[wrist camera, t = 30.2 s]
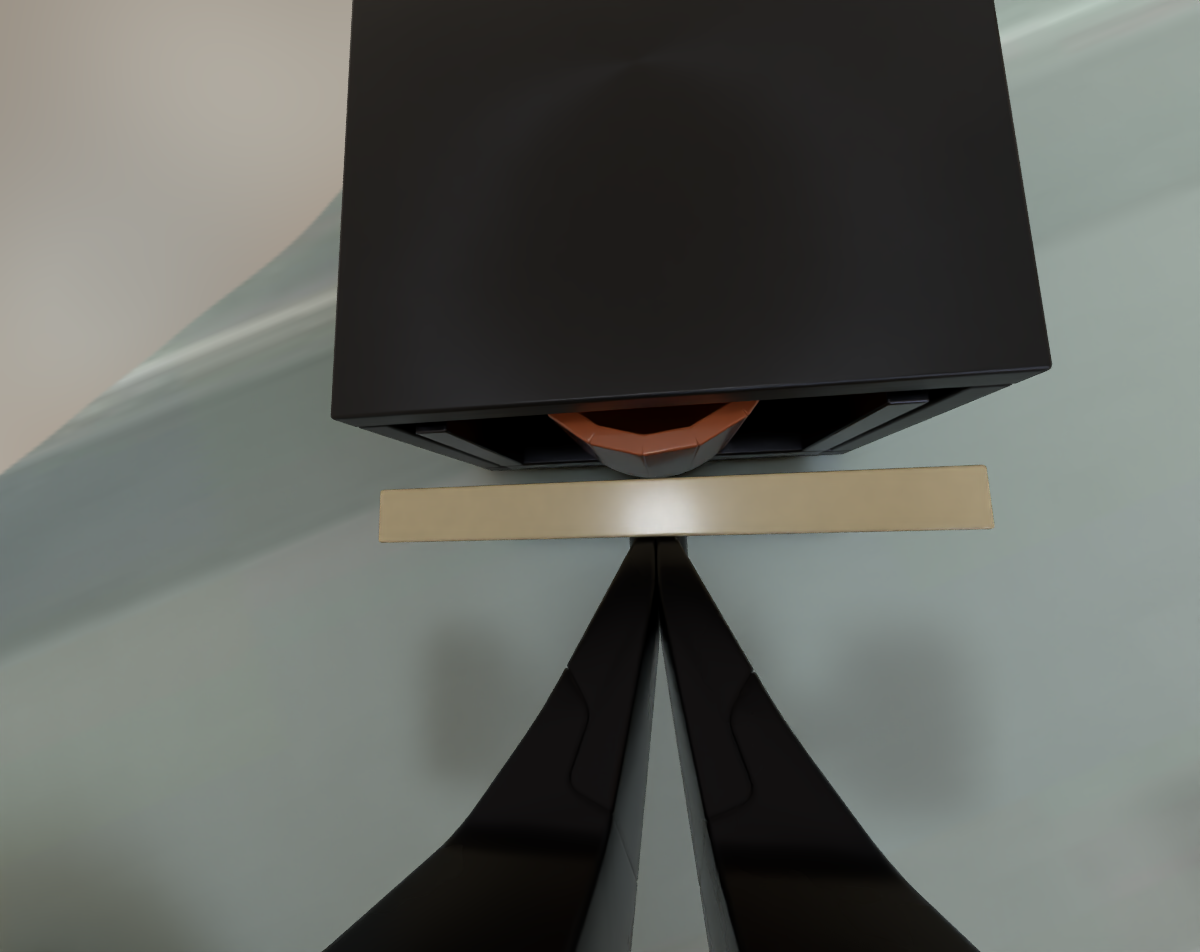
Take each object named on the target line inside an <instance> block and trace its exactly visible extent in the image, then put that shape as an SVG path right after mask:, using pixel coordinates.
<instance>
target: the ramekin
mask: <svg viewBox="0 0 1200 952" xmlns="http://www.w3.org/2000/svg"><path fill="white" fill-rule="evenodd" d="M759 401H760V400H756V401H741V402H725V403H710V404H695V405H680V406H665V407H650V408H634V409H619V410H604V411H589V412H574V413H559V414H547V415H548V416H549V417H550V418H551V419H552V420H553V421H554V422H555V423H556V424H557V425H558V426H559V427H560V428H561V429H562V430H564V431H565V432H566V433H567V434H568V435H569V436H570V437H571V438H572V439H573V440H574V441H575V442H576V443H577V444H578V445H579V446H580V447H581V448H582V449H584V450H585V451H587V452H588V453H589V454H591V455H592V456H593V457H595V458H596V459H597V460H598V461H600V462H601V463H603V464H605V465H606V466H608V467H609V468H612V469H613V470H616V471H619V472H621V473H625V474H628V475H631V476H637V477H644V478H660V477H669V476H673V475H677V474H681V473H684V472H687V471H689V470H692V469H694V468H696V467H698V466H700V465H702V464H704V463H705V462H707V461H708V460H709V459H711V458H712V457H714V456H715V455H716V454H717V453H719V452H720V451H722V449H724V448H725V446H726V445H727V444H728V442H729V441H730V440H731V438H732V437H733V436H734V434H735V433H736V432H737V431H738V429H739V428H740V427H741V425H742V424H743V423H744V421H745V420H746V419H747V417H748V416H749V415H750V413H751V412H752V411H753V409H754V408H755V406H756V405H757V404H758V402H759Z"/></svg>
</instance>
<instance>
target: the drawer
mask: <svg viewBox="0 0 1200 952" xmlns="http://www.w3.org/2000/svg"><path fill="white" fill-rule="evenodd" d="M927 402H929V391H928V389H923V390H907V391H892V392H877V393H862V394H847V395H832V396H816V397H801V398H786V399H771V400H760V401H759V402H758V404H757V405H756V406H755V408H754V409H753V411H752V412H751V413H750V415H749V416H748V417H747V419H746V420H745V421H744V423H743V424H742V425H741V427H740V428H739V429H738V431H737V432H736V433H735V434H734V436H733V437H732V438H731V440H730V441H729V442H728V444H727V445H726V446H725V448H724V449H722V451H720V452H719V453H717V454H716V455H715V456H714V457H712V458H711V459H731V458H752V457H773V456H794V455H815V454H819V453H821V452H823V451H825V450H828V449H830V448H832V447H834V446H836V445H838V444H841V443H843V442H845V441H847V440H849V439H851V438H853V437H855V436H858V435H860V434H862V433H864V432H866V431H868V430H870V429H872V428H874V427H877V426H879V425H881V424H883V423H885V422H887V421H889V420H891V419H894V418H896V417H898V416H900V415H902V414H904V413H906V412H908V411H910V410H913V409H915V408H917V407H919V406H921V405H923V404H925V403H927ZM415 432H416V434H418V435H421V436H424V437H426V438H429V439H432V440H434V441H437V442H440V443H442V444H445V445H448V446H450V447H453V448H456V449H458V450H461V451H464V452H467V453H469V454H472V455H475V456H477V457H480V458H483V459H485V460H488V461H491V462H493V463H496V464H499V465H501V466H505V467H508V468H511V469H520V468H541V467H562V466H583V465H604V464H603V463H601V462H600V461H598V460H597V459H596V458H595V457H593V456H592V455H591V454H589V453H588V452H587V451H585V450H584V449H582V448H581V447H580V446H579V445H578V444H577V443H576V442H575V441H574V440H573V439H572V438H571V437H570V436H569V435H568V434H567V433H566V432H565V431H564V430H562V429H561V428H560V427H559V426H558V425H557V424H556V423H555V422H554V421H553V420H552V419H551V418H550V417H549V416H548V415H547V414H543V415H528V416H513V417H498V418H483V419H468V420H452V421H437V422H422V423H416V429H415ZM709 460H710V459H709ZM992 528H994V519H993V512H992V504H991V497H990V490H989V482H988V475H987V468H986V466H984V465H964V466H940V467H916V468H893V469H869V470H845V471H821V472H797V473H773V474H749V475H726V476H702V477H678V478H654V479H630V480H606V481H583V482H559V483H535V484H511V485H487V486H463V487H439V488H416V489H392V490H382V491H381V493H380V520H379V542H381V543H392V542H436V541H481V540H526V539H571V538H615V537H630V548H631V546H632V544H633V542H634V540H635V539H636V538H637V537H655V538H657V537H660V536H675V537H676V538H677V539H678V541H679V542H680V544H681V546H682V548H683V549H684V551H685V553H686V554H687V556H688V549H687V536H705V535H749V534H794V533H839V532H884V531H928V530H973V529H992Z"/></svg>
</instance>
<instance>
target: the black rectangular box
mask: <svg viewBox="0 0 1200 952" xmlns="http://www.w3.org/2000/svg"><path fill="white" fill-rule="evenodd" d="M1051 367H1052V361H1051V355H1050V348H1049V342H1048V336H1047V330H1046V323H1045V317H1044V311H1043V305H1042V298H1041V292H1040V286H1039V280H1038V273H1037V267H1036V261H1035V255H1034V249H1033V242H1032V236H1031V230H1030V224H1029V217H1028V211H1027V205H1026V199H1025V192H1024V186H1023V180H1022V174H1021V167H1020V161H1019V155H1018V149H1017V142H1016V136H1015V130H1014V124H1013V117H1012V111H1011V105H1010V99H1009V92H1008V86H1007V80H1006V74H1005V67H1004V61H1003V55H1002V49H1001V42H1000V36H999V30H998V24H997V17H996V11H995V5H994V0H353V2H352V21H351V40H350V60H349V78H348V98H347V117H346V136H345V156H344V175H343V193H342V212H341V232H340V251H339V270H338V289H337V308H336V327H335V346H334V365H333V385H332V404H331V418H332V419H334V420H336V421H339V422H342V423H346V424H349V425H352V426H355V427H359V428H361V429H364V430H368V431H371V432H374V433H377V434H380V435H383V436H386V437H389V438H392V439H395V440H399V441H402V442H405V443H408V444H411V445H414V446H417V447H420V448H423V449H426V450H429V451H433V452H436V453H439V454H442V455H445V456H448V457H451V458H454V459H457V460H460V461H463V462H467V463H470V464H473V465H476V466H479V467H482V468H485V469H488V470H491V471H493V470H514V469H511V468H508V467H505V466H501V465H499V464H496V463H493V462H491V461H488V460H485V459H483V458H480V457H477V456H475V455H472V454H469V453H467V452H464V451H461V450H458V449H456V448H453V447H450V446H448V445H445V444H442V443H440V442H437V441H434V440H432V439H429V438H426V437H424V436H421V435H418V434H416V432H415V429H416V423H422V422H437V421H452V420H468V419H483V418H498V417H513V416H528V415H543V414H559V413H574V412H589V411H604V410H619V409H634V408H650V407H665V406H680V405H695V404H710V403H725V402H741V401H756V400H771V399H786V398H801V397H816V396H832V395H847V394H862V393H877V392H892V391H907V390H923V389H928V391H929V402H927V403H925V404H923V405H921V406H919V407H917V408H915V409H913V410H910V411H908V412H906V413H904V414H902V415H900V416H898V417H896V418H894V419H891V420H889V421H887V422H885V423H883V424H881V425H879V426H877V427H874V428H872V429H870V430H868V431H866V432H864V433H862V434H860V435H858V436H855V437H853V438H851V439H849V440H847V441H845V442H843V443H841V444H838V445H836V446H834V447H832V448H830V449H828V450H825V451H823V452H821V453H819V454H815V455H832V454H844V453H846V452H849V451H851V450H854V449H856V448H859V447H861V446H863V445H866V444H868V443H871V442H873V441H876V440H878V439H881V438H883V437H885V436H888V435H890V434H893V433H895V432H898V431H900V430H903V429H905V428H907V427H910V426H912V425H915V424H917V423H920V422H922V421H925V420H927V419H930V418H932V417H934V416H937V415H939V414H942V413H944V412H947V411H949V410H952V409H954V408H956V407H959V406H961V405H964V404H966V403H969V402H971V401H974V400H976V399H979V398H981V397H983V396H986V395H988V394H991V393H993V392H996V391H998V390H1001V389H1003V388H1005V387H1008V386H1010V385H1012V384H1014V383H1018V382H1020V381H1023V380H1025V379H1028V378H1030V377H1033V376H1035V375H1038V374H1040V373H1042V372H1045V371H1047V370H1049V369H1050V368H1051ZM794 456H811V455H794ZM773 457H790V456H773ZM752 458H768V457H752ZM731 459H747V458H731ZM710 460H726V459H710ZM604 465H605V464H604ZM583 466H599V465H583ZM562 467H578V466H562ZM541 468H556V467H541ZM520 469H535V468H520Z"/></svg>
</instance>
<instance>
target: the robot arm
mask: <svg viewBox="0 0 1200 952" xmlns="http://www.w3.org/2000/svg"><path fill="white" fill-rule="evenodd" d="M660 635H661V643H662V651H663V657H664V663H665V670H666V676H667V683H668V689H669V695H670V702H671V708H672V715H673V721H674V727H675V734H676V740H677V747H678V753H679V759H680V766H681V772H682V779H683V785H684V791H685V798H686V804H687V811H688V817H689V824H690V830H691V836H692V843H693V849H694V856H695V862H696V868H697V875H698V881H699V886H700V894H701V901H702V907H703V913H704V920H705V926H706V933H707V939H708V945H709V952H980V951H979V950H978V949H977V948H976V947H975V946H974V945H973V944H972V943H971V942H970V941H969V940H967V939H966V938H965V937H964V936H963V935H962V934H961V933H960V932H959V931H958V930H957V929H956V928H955V927H954V926H953V925H952V924H951V923H950V922H948V921H947V920H946V919H945V918H944V917H943V916H942V915H941V914H940V913H939V912H938V911H937V910H936V909H935V908H934V907H933V906H932V905H931V904H929V903H928V902H927V901H926V900H925V899H924V898H923V897H922V896H921V895H920V894H919V893H918V892H917V891H916V890H915V889H914V888H913V887H912V886H911V885H910V884H909V883H908V882H907V881H906V880H905V879H904V878H903V877H902V876H901V874H900V873H899V872H898V871H897V870H896V869H895V868H894V866H893V865H892V864H891V863H890V862H889V861H888V860H887V858H886V857H885V856H884V855H883V853H882V852H881V851H880V850H879V848H878V847H877V846H876V845H875V843H874V842H873V841H872V840H871V838H870V837H869V836H868V834H867V833H866V832H865V830H864V829H863V828H862V826H861V825H860V824H859V822H858V821H857V820H856V818H855V817H854V815H853V814H852V813H851V811H850V810H849V809H848V807H847V806H846V805H845V803H844V802H843V800H842V799H841V798H840V796H839V795H838V794H837V792H836V791H835V790H834V788H833V787H832V786H831V784H830V783H829V781H828V780H827V779H826V777H825V776H824V775H823V773H822V772H821V771H820V769H819V768H818V767H817V765H816V764H815V762H814V761H813V760H812V758H811V757H810V756H809V754H808V753H807V752H806V750H805V749H804V747H803V746H802V744H801V743H800V742H799V740H798V739H797V737H796V736H795V734H794V733H793V732H792V730H791V729H790V727H789V726H788V724H787V723H786V721H785V720H784V718H783V717H782V715H781V714H780V712H779V710H778V709H777V707H776V706H775V704H774V702H773V701H772V699H771V698H770V696H769V694H768V693H767V691H766V689H765V688H764V686H763V684H762V683H761V681H760V679H759V677H758V676H757V674H756V673H755V672H753V668H752V666H751V664H750V662H749V661H748V659H747V657H746V656H745V654H744V652H743V650H742V649H741V647H740V645H739V644H738V642H737V640H736V638H735V637H734V635H733V633H732V632H731V630H730V628H729V626H728V625H727V623H726V621H725V620H724V618H723V616H722V614H721V613H720V611H719V609H718V608H717V606H716V604H715V602H714V601H713V599H712V597H711V596H710V594H709V592H708V590H707V589H706V587H705V585H704V584H703V582H702V580H701V578H700V577H699V575H698V573H697V572H696V570H695V568H694V566H693V565H692V563H691V561H690V560H689V558H688V556H687V554H686V553H685V551H684V549H683V548H682V546H681V544H680V542H679V541H678V539H677V538H676V537H675V536H660V537H657V538H655V537H637V538H636V539H635V540H634V542H633V544H632V546H631V548H630V550H629V552H628V553H627V555H626V557H625V559H624V561H623V563H622V564H621V566H620V568H619V570H618V572H617V574H616V576H615V577H614V579H613V581H612V583H611V585H610V587H609V588H608V590H607V592H606V594H605V596H604V598H603V600H602V601H601V603H600V605H599V607H598V609H597V611H596V612H595V614H594V616H593V618H592V620H591V622H590V624H589V625H588V627H587V629H586V631H585V633H584V635H583V637H582V638H581V640H580V642H579V644H578V646H577V648H576V649H575V651H574V653H573V655H572V657H571V659H570V661H569V662H568V664H567V667H568V668H565V669H564V671H563V673H562V675H561V677H560V679H559V680H558V682H557V684H556V686H555V688H554V689H553V691H552V693H551V695H550V696H549V698H548V700H547V701H546V703H545V705H544V707H543V708H542V710H541V712H540V713H539V715H538V716H537V718H536V719H535V721H534V722H533V724H532V725H531V727H530V728H529V730H528V731H527V733H526V734H525V736H524V737H523V739H522V740H521V742H520V743H519V745H518V746H517V748H516V749H515V750H514V752H513V753H512V755H511V756H510V758H509V759H508V760H507V762H506V763H505V765H504V766H503V768H502V769H501V771H500V772H499V773H498V775H497V776H496V778H495V779H494V781H493V782H492V783H491V785H490V786H489V788H488V789H487V791H486V792H485V793H484V795H483V796H482V798H481V799H480V801H479V802H478V803H477V805H476V806H475V808H474V809H473V810H472V812H471V813H470V814H469V816H468V817H467V818H466V820H465V821H464V822H463V823H462V825H461V826H460V827H459V828H458V829H457V830H456V831H455V833H454V834H453V835H452V836H451V837H450V838H449V839H448V840H447V841H446V842H445V843H444V844H443V845H442V846H441V847H440V848H439V849H438V850H437V851H436V852H435V853H433V854H432V855H431V856H430V857H429V858H428V859H427V860H426V861H424V862H423V863H422V864H421V865H420V866H419V867H418V868H416V869H415V870H414V871H413V872H412V873H411V874H410V875H409V876H407V877H406V878H405V879H404V880H403V881H402V882H401V883H400V884H398V885H397V886H396V887H395V888H394V889H393V890H392V891H390V892H389V893H388V894H387V895H386V896H385V897H384V898H383V899H381V900H380V901H379V902H378V903H377V904H376V905H375V906H373V907H372V908H371V909H370V910H369V911H368V912H367V913H366V914H364V915H363V916H362V917H361V918H360V919H359V920H358V921H356V922H355V923H354V924H353V925H352V926H351V927H350V928H349V929H347V930H346V931H345V932H344V933H343V934H342V935H341V936H339V937H338V938H337V939H336V940H335V941H334V942H333V943H332V944H330V945H329V946H328V947H327V948H326V949H325V950H323V951H322V952H631V947H632V936H633V925H634V914H635V903H636V892H637V882H636V881H637V879H638V870H639V859H640V848H641V837H642V827H643V816H644V805H645V794H646V783H647V772H648V761H649V751H650V740H651V729H652V718H653V707H654V696H655V685H656V674H657V664H658V653H659V639H660Z"/></svg>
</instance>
